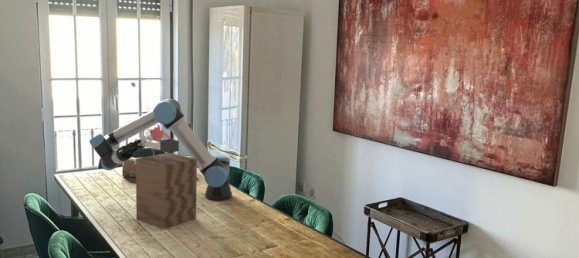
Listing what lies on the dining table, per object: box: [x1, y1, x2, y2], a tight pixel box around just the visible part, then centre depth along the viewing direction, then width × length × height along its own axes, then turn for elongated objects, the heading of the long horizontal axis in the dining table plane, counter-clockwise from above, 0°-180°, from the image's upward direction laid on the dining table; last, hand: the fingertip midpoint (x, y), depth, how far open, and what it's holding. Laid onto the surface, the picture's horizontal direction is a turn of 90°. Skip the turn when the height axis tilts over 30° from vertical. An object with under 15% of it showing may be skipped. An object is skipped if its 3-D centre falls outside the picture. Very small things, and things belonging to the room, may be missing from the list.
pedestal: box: [135, 152, 198, 230], centre depth 239 cm, size 20×20×30 cm
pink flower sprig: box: [134, 126, 172, 156], centre depth 299 cm, size 15×26×35 cm, turn 147°
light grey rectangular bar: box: [135, 137, 180, 153], centre depth 240 cm, size 6×26×5 cm, turn 55°
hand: (148, 137), depth 243 cm, fingers closed on light grey rectangular bar, 3 cm apart
